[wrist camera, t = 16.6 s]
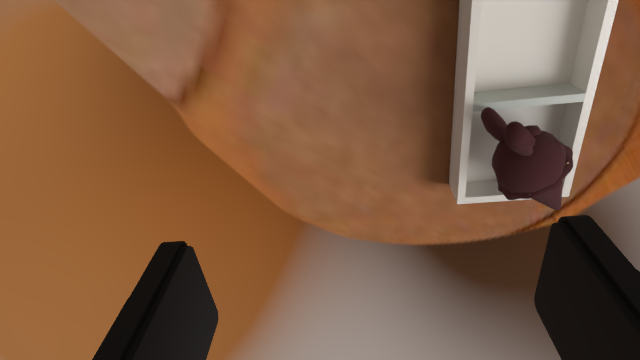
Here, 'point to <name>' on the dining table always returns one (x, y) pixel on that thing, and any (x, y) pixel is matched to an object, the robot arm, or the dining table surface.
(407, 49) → the dining table surface
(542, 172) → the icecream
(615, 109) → the dining table surface
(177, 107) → the dining table surface
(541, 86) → the white divided tray
